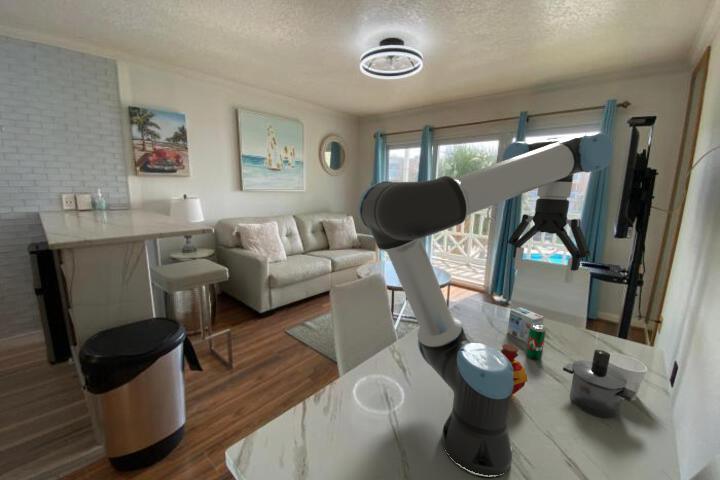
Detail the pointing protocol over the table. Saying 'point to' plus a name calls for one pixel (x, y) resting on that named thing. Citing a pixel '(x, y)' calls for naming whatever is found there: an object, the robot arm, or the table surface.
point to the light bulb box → (522, 322)
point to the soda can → (535, 341)
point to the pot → (596, 397)
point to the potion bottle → (515, 367)
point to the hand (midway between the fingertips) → (541, 275)
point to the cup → (628, 370)
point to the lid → (599, 372)
